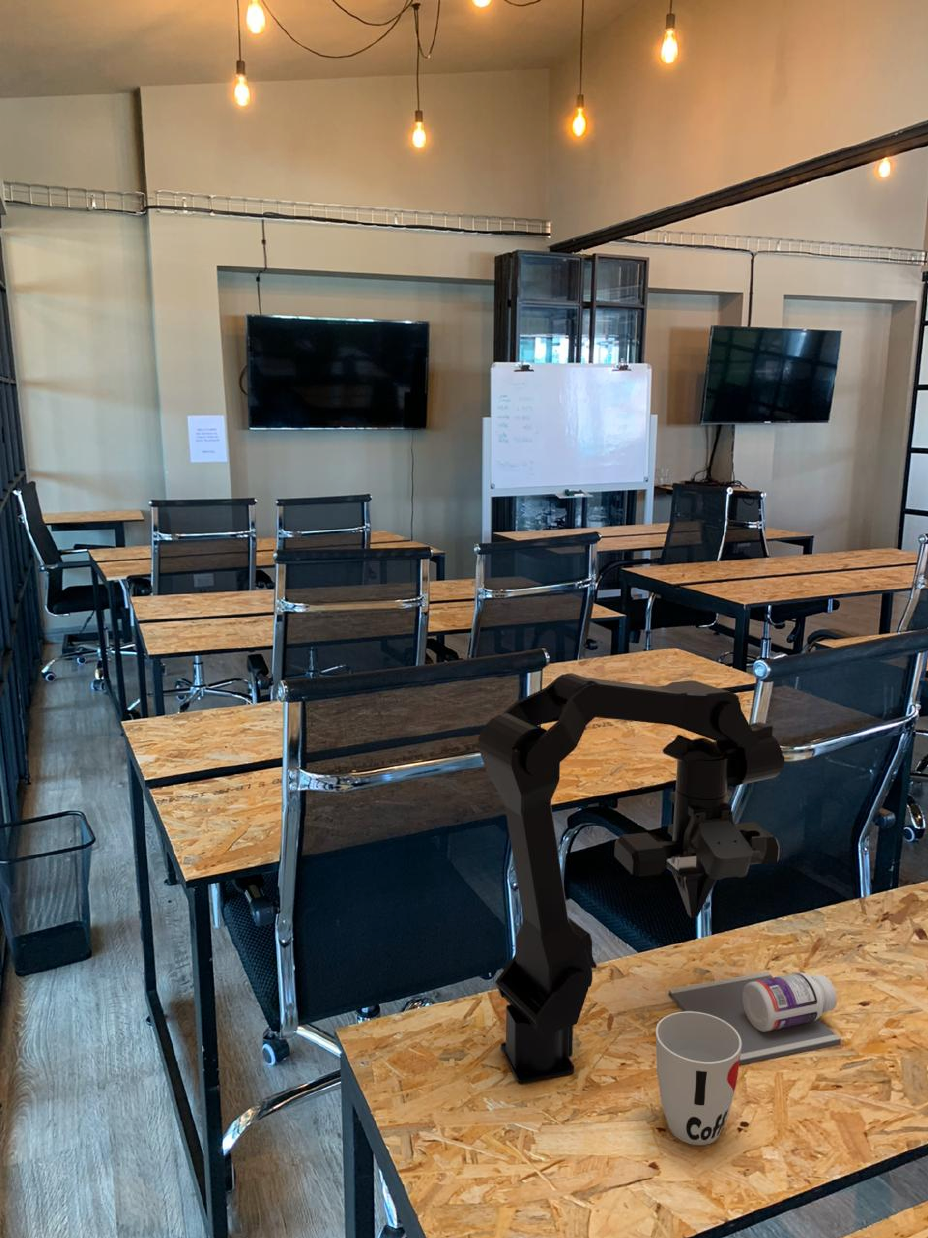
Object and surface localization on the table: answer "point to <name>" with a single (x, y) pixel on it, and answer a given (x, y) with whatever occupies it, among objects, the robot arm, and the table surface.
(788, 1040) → the mat
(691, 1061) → the cup
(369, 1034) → the table surface
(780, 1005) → the pill bottle
